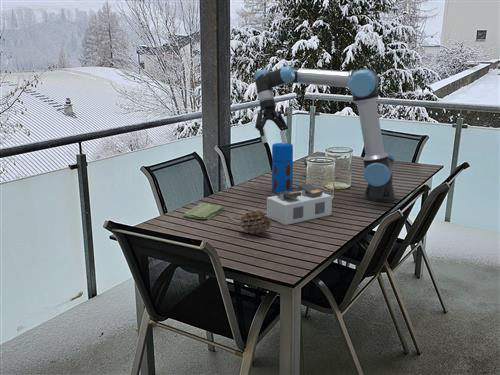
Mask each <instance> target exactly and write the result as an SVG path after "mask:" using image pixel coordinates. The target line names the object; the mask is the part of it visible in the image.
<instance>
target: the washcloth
mask: <svg viewBox="0 0 500 375" xmlns="http://www.w3.org/2000/svg"><path fill="white" fill-rule="evenodd" d="M223 211H224V207H223V206H222V205H218V204H216V205H215V204H209V203H205V202H201V203H199V204H198V205H196V206H194V207H193V208H191V209H189V210H187V211H186V212H184V213H183V214H182V215H183V217H184V218H187V217H188V218H189V219H195V220H196V219H197V220H205V221H210V220H211V219H212V218H214V217H216V216H217V215H219V213H222V212H223Z"/></svg>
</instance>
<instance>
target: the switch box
mask: <svg viewBox="0 0 500 375" xmlns="http://www.w3.org/2000/svg"><path fill="white" fill-rule="evenodd" d="M314 187H315V186H314ZM315 188H317V189H319V188H318V187H315ZM298 192H301V196H297V197H292V198H287V197H284V195H283V194H280V197H278V196H277V195H274V196H273V195H272V196H268V197H266V216H268V217H269V219H271V220H273V221H274V222H275V221H276V222H277V223H280V224H281V225H283V226H287V225H292V224H296V223H301V222H306V221H310V220H314V219H318V218H324V217H327V216H331V215H332V210H333V209H332V208H333V207H332V206H333V204H332V202H333V195H331V194H328V193H326V192H323V191H322V195H320V196H315V197H310V196H309V195H307V194H306V191H305V190H302V191H301V190H300V191H298Z"/></svg>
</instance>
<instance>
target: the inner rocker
mask: <svg viewBox="0 0 500 375" xmlns="http://www.w3.org/2000/svg"><path fill="white" fill-rule="evenodd" d="M297 188H298V189H299V190H300V191H302V190H305V191H306V194H307V195H309V196H310V197H315V196H320V195H322V192H323V191H322V190H320V189H319V188H318V187H316V188H315V186H314V185H313V184H311V183H305V184H300V185H298V187H297ZM317 188H318V189H317Z"/></svg>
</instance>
